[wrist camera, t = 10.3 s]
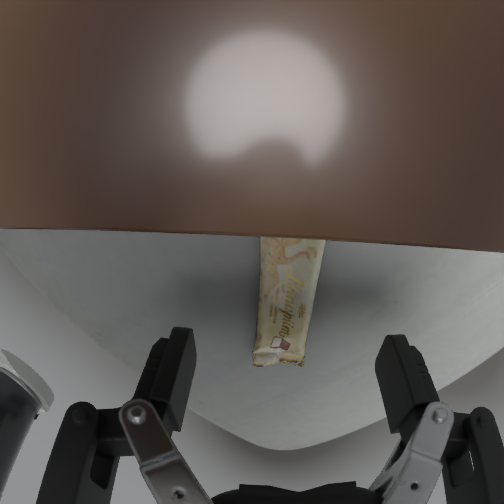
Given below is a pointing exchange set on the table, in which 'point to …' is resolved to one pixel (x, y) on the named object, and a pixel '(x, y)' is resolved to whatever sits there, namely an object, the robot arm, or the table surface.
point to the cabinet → (256, 118)
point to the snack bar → (285, 298)
